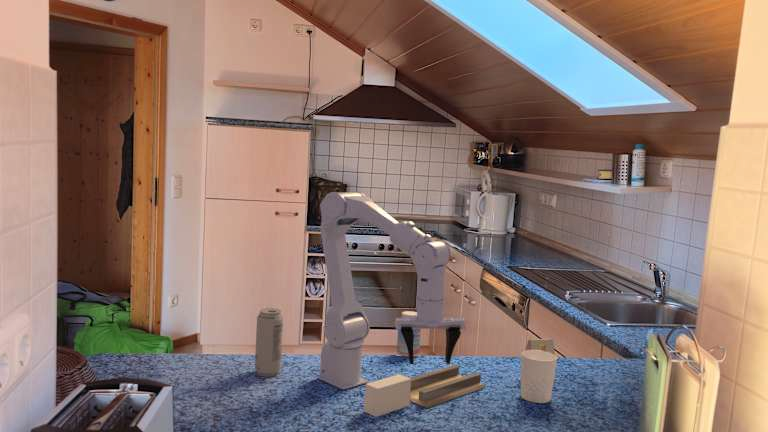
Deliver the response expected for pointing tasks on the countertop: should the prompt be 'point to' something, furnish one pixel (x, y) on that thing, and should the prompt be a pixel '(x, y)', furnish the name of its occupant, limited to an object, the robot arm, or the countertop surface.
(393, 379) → the cream rectangular block
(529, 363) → the white cup
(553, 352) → the white red printed box
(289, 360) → the countertop surface
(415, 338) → the pill bottle
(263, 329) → the energy drink can
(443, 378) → the sliding track
